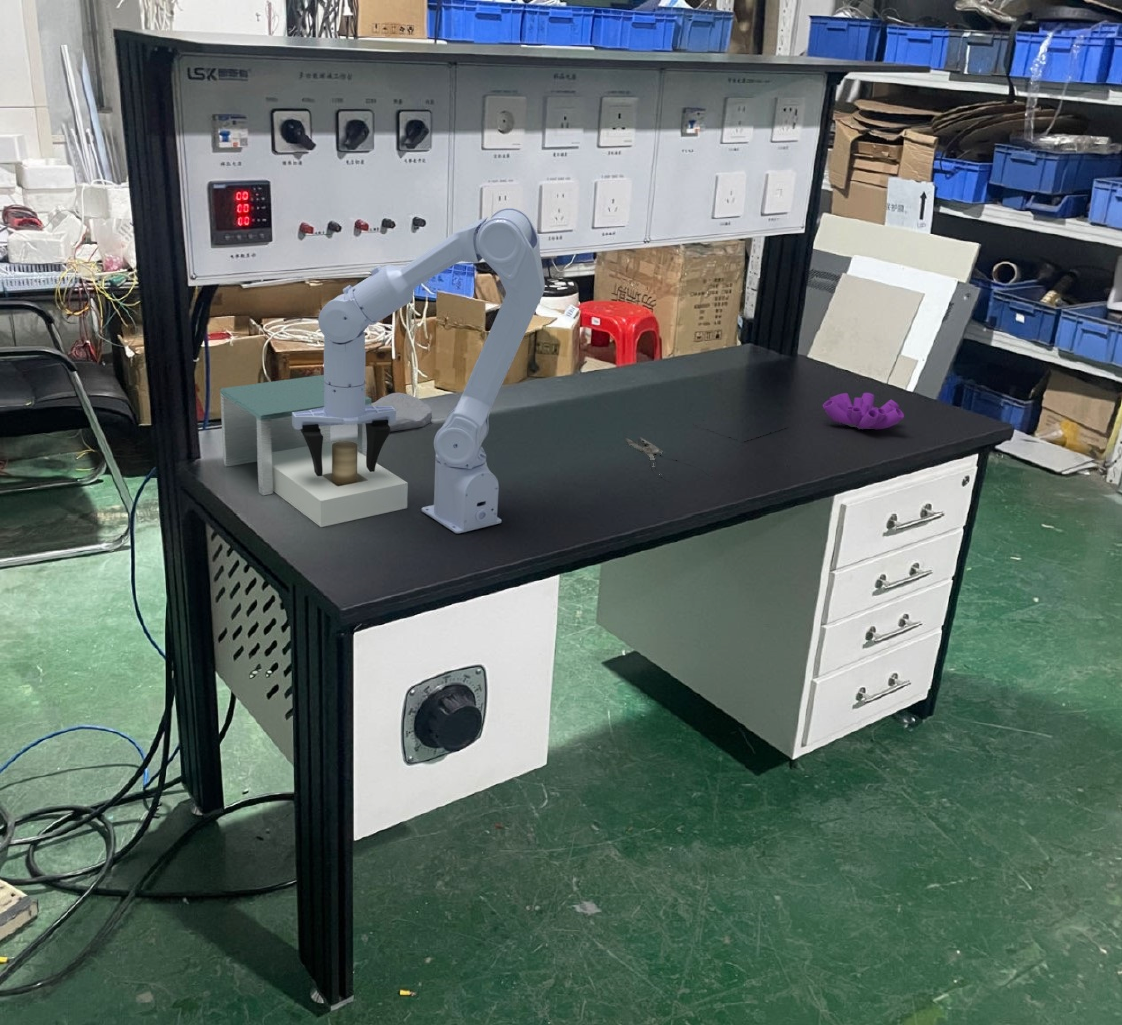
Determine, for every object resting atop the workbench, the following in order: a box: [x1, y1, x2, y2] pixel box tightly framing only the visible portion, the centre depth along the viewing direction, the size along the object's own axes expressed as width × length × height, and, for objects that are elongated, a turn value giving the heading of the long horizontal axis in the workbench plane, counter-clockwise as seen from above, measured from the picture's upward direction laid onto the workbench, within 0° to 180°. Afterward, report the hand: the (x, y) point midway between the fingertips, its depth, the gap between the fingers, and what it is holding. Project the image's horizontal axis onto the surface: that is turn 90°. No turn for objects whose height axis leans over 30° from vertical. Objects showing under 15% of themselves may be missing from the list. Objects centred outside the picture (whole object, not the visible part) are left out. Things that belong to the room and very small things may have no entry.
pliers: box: [625, 436, 665, 475], centre depth 189 cm, size 10×1×20 cm
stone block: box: [371, 392, 433, 433], centre depth 196 cm, size 12×5×10 cm
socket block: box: [257, 440, 409, 528], centre depth 164 cm, size 20×14×4 cm
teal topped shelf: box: [219, 374, 372, 496], centre depth 170 cm, size 14×18×12 cm
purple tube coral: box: [822, 392, 905, 430], centre depth 214 cm, size 11×15×10 cm
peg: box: [332, 440, 358, 486], centre depth 160 cm, size 4×4×8 cm
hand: (344, 471), depth 161 cm, fingers open, 7 cm apart
